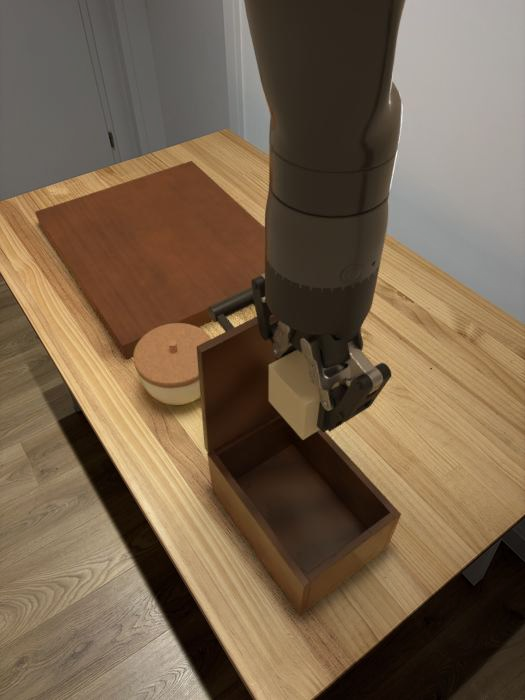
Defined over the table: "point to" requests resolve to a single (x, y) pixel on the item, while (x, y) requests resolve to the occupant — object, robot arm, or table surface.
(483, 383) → the table surface
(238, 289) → the brown flat wooden slab
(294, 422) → the block
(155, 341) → the trinket box
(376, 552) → the chest
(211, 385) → the lid
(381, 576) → the table surface
